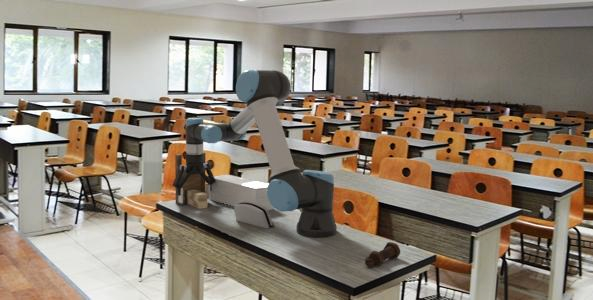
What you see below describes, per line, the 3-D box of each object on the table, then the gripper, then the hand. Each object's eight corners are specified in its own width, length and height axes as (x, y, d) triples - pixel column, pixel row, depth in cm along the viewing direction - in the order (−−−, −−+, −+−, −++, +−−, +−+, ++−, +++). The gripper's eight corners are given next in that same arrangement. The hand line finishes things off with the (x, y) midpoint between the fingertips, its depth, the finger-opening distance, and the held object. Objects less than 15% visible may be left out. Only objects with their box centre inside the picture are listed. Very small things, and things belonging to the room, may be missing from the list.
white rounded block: (275, 225, 212) (270, 203, 208) (268, 232, 209) (262, 209, 205) (244, 217, 222) (238, 196, 218) (236, 223, 219) (230, 202, 215)
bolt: (365, 273, 169) (391, 260, 180) (378, 269, 166) (403, 256, 177) (358, 256, 170) (383, 243, 181) (370, 251, 167) (395, 239, 178)
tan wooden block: (207, 207, 237) (207, 193, 236) (199, 208, 234) (199, 195, 234) (193, 201, 246) (193, 188, 245) (185, 203, 244) (185, 190, 243)
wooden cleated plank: (207, 200, 248) (207, 153, 245) (179, 205, 240) (179, 155, 236) (203, 199, 251) (203, 152, 248) (175, 203, 242) (175, 154, 239)
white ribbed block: (209, 199, 252) (209, 177, 250) (227, 196, 259) (227, 174, 258) (255, 213, 230) (256, 188, 228) (273, 209, 238) (274, 185, 236)
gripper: (214, 150, 249) (214, 195, 252) (164, 154, 233) (164, 202, 236) (223, 152, 243) (223, 198, 246) (172, 156, 227) (172, 206, 230)
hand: (194, 200), depth 241 cm, fingers open, 13 cm apart
